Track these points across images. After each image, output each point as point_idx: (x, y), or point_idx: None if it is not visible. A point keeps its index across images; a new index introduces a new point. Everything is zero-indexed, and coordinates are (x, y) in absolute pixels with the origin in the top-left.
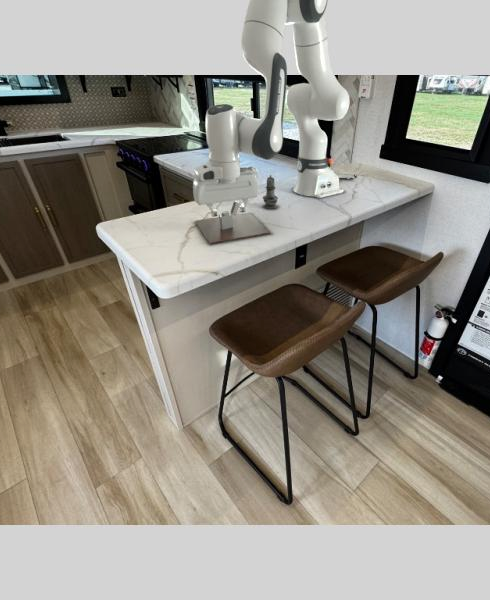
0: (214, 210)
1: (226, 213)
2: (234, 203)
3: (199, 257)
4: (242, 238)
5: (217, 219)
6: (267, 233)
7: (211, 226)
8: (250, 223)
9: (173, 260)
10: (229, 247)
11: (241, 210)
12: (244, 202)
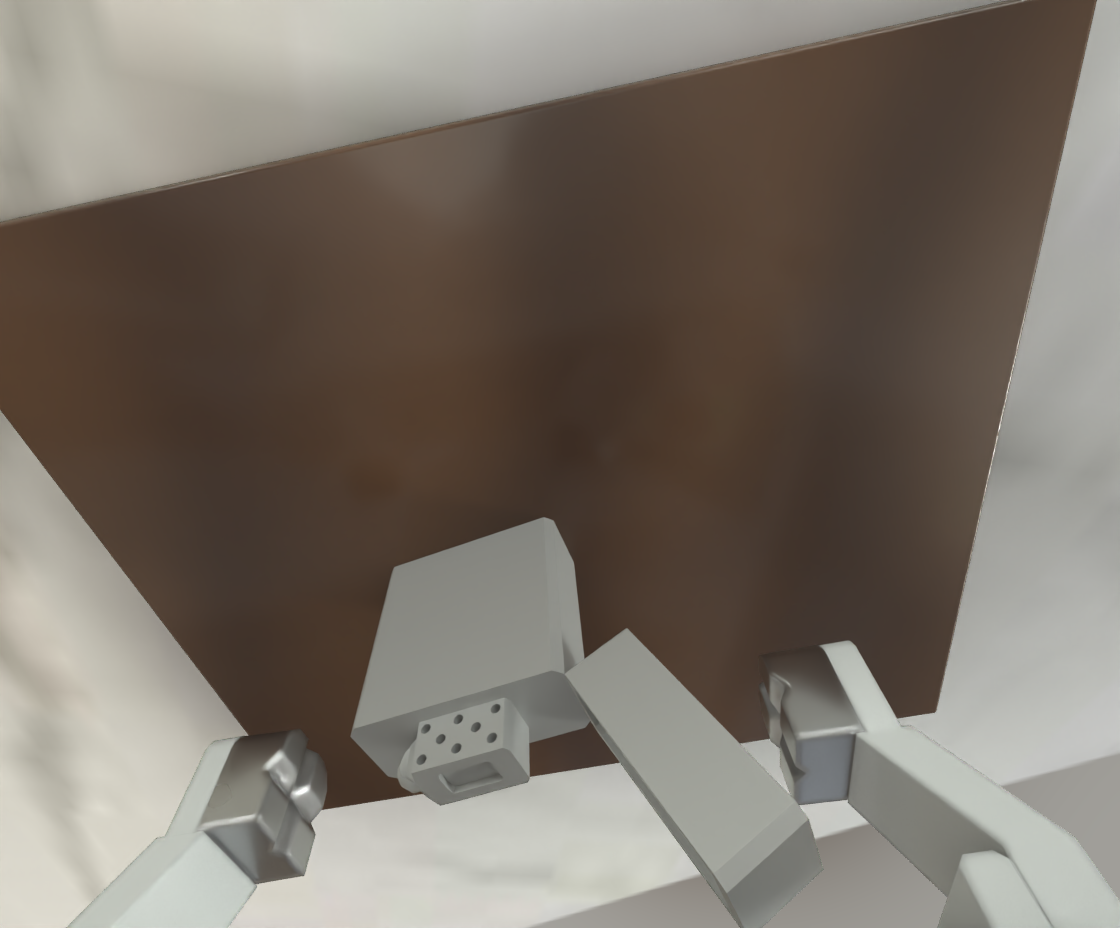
0: (248, 855)
1: (485, 777)
2: (704, 820)
3: (255, 899)
4: None
5: (333, 270)
6: (896, 713)
7: (263, 516)
8: (839, 502)
9: (71, 912)
10: (481, 829)
11: (779, 746)
12: (942, 861)
